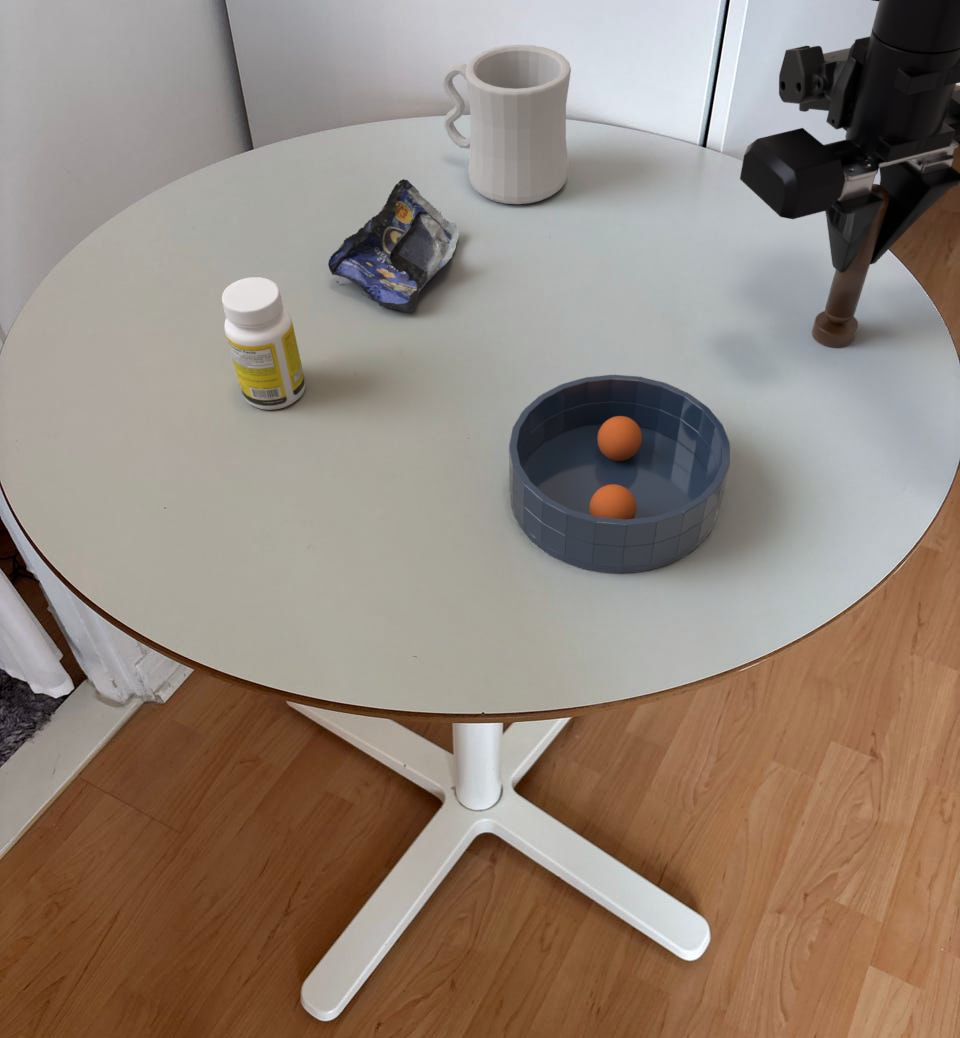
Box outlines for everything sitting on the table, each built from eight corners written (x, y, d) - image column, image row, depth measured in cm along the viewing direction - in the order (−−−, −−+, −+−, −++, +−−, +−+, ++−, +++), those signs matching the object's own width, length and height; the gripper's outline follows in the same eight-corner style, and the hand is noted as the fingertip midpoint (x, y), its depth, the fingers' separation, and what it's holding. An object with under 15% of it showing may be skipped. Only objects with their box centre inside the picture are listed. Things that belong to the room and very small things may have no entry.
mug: (585, 171, 94) (591, 56, 86) (536, 218, 90) (537, 102, 82) (472, 139, 98) (468, 27, 90) (419, 182, 94) (410, 69, 86)
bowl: (719, 433, 72) (730, 382, 69) (718, 583, 64) (729, 534, 60) (523, 418, 74) (524, 368, 70) (497, 562, 66) (495, 513, 62)
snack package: (504, 288, 84) (443, 216, 90) (492, 221, 78) (427, 150, 85) (375, 352, 83) (322, 275, 89) (353, 288, 77) (298, 211, 83)
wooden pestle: (852, 323, 79) (898, 174, 70) (855, 349, 77) (902, 199, 68) (810, 321, 80) (850, 172, 70) (812, 346, 78) (853, 197, 68)
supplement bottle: (284, 362, 79) (262, 265, 72) (318, 392, 76) (299, 294, 70) (230, 389, 77) (203, 291, 70) (264, 420, 75) (239, 323, 68)
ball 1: (640, 442, 71) (645, 408, 69) (638, 471, 69) (642, 438, 67) (597, 438, 71) (600, 405, 69) (594, 468, 70) (597, 434, 67)
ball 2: (635, 509, 67) (639, 476, 65) (632, 543, 65) (637, 510, 63) (589, 505, 68) (592, 472, 65) (586, 539, 66) (588, 506, 63)
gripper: (965, -42, 68) (896, 183, 80) (717, 10, 64) (685, 238, 77) (1083, 23, 61) (988, 257, 74) (815, 85, 58) (762, 320, 70)
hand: (853, 265), depth 74 cm, fingers closed on wooden pestle, 2 cm apart
